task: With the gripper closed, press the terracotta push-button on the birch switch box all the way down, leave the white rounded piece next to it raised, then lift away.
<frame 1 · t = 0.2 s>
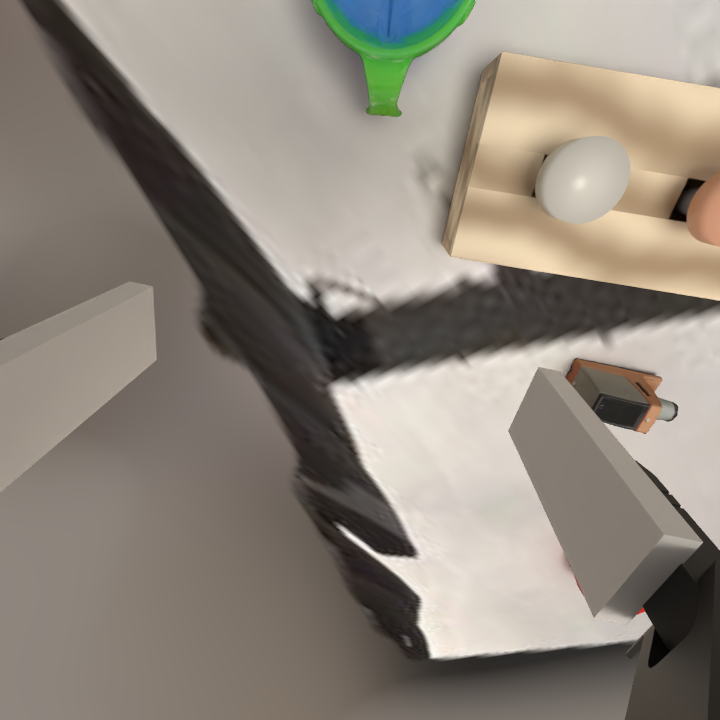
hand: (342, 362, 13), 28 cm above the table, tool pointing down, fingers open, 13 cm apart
snack cup: (393, 8, 30), on the table
electronic device: (605, 380, 44), on the table
switch box: (590, 186, 35), on the table
white rounded piece: (566, 180, 28), point 8 cm above the table, slide at 0.0 cm
terracotta button: (714, 204, 28), point 8 cm above the table, slide at 0.0 cm
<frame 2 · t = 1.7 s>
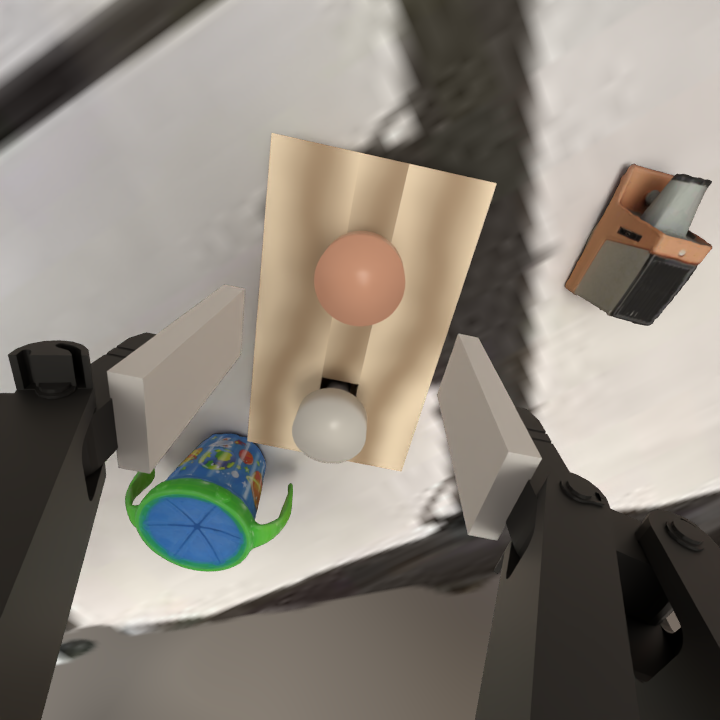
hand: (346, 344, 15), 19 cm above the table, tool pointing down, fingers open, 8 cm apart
snack cup: (234, 455, 43), on the table
electronic device: (615, 235, 30), on the table
switch box: (355, 308, 34), on the table
white rounded piece: (334, 408, 30), point 8 cm above the table, slide at 0.0 cm
terracotta button: (362, 269, 25), point 8 cm above the table, slide at 0.0 cm
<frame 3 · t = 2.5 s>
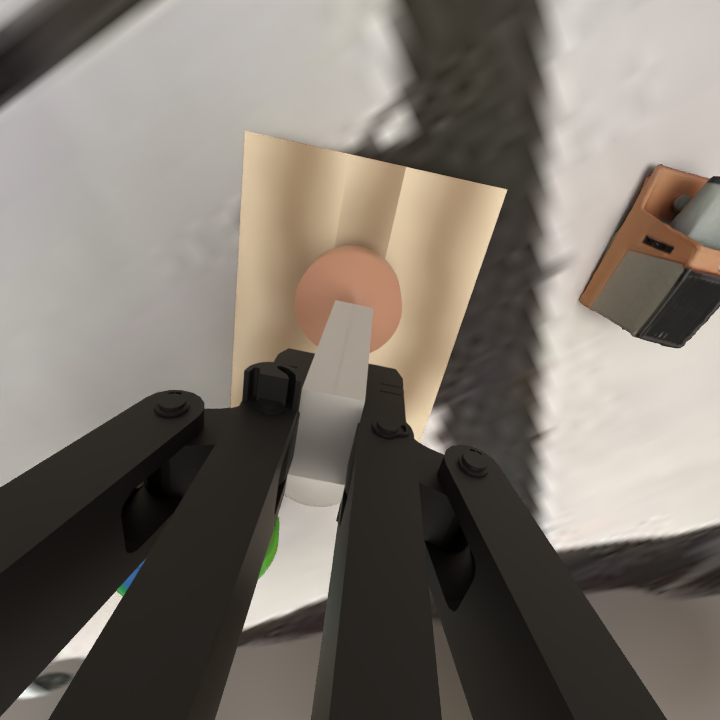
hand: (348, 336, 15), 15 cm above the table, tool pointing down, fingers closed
snack cup: (216, 483, 40), on the table
electronic device: (636, 244, 27), on the table
switch box: (346, 327, 31), on the table
white rounded piece: (322, 442, 26), point 8 cm above the table, slide at 0.0 cm
terracotta button: (352, 289, 21), point 8 cm above the table, slide at 0.0 cm
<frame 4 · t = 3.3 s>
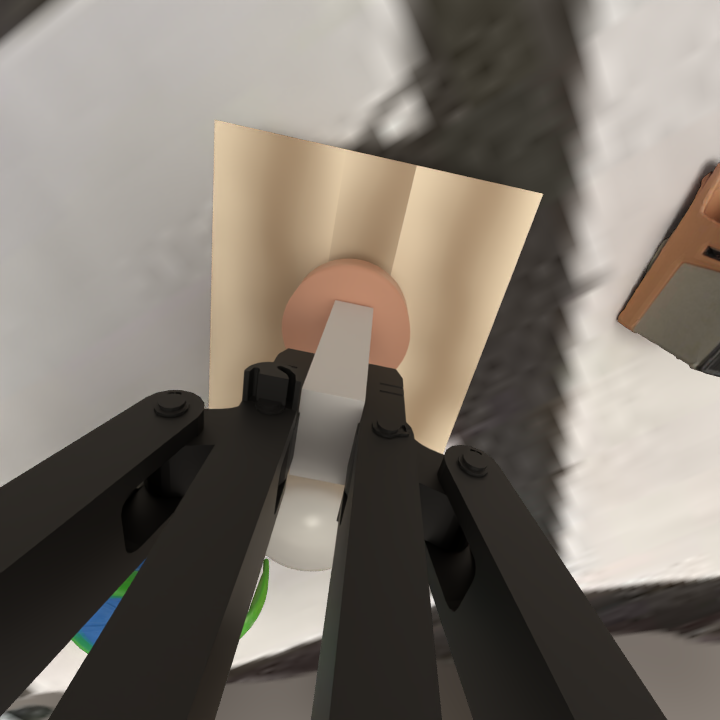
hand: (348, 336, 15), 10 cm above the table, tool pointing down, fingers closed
snack cup: (200, 517, 36), on the table
electronic device: (687, 254, 23), on the table
switch box: (344, 349, 27), on the table
white rounded piece: (315, 490, 22), point 8 cm above the table, slide at 0.0 cm
terracotta button: (351, 307, 18), point 7 cm above the table, slide at 1.1 cm, touching gripper
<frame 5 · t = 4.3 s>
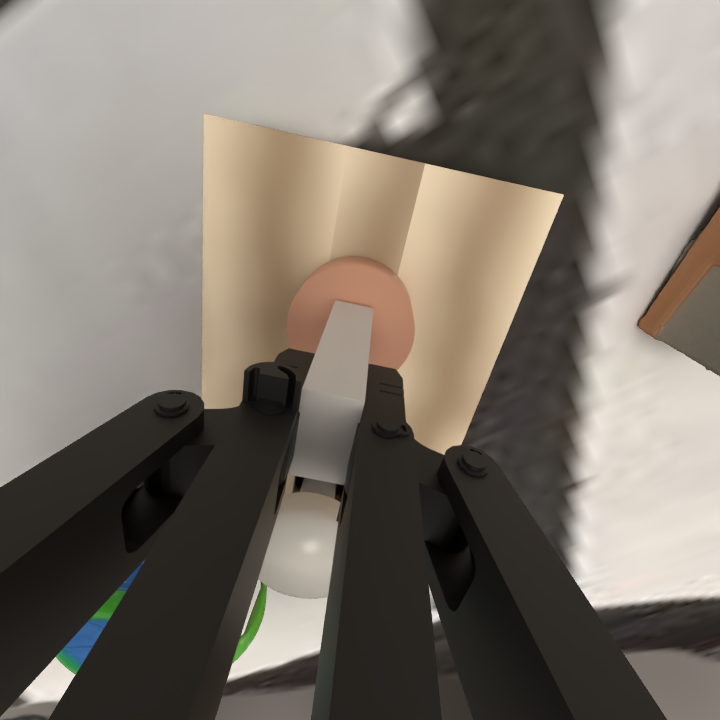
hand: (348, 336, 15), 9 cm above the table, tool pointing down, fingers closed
snack cup: (196, 528, 34), on the table
electronic device: (714, 256, 21), on the table
switch box: (345, 358, 25), on the table
white rounded piece: (314, 509, 21), point 8 cm above the table, slide at 0.0 cm
terracotta button: (356, 305, 18), point 5 cm above the table, slide at 2.8 cm
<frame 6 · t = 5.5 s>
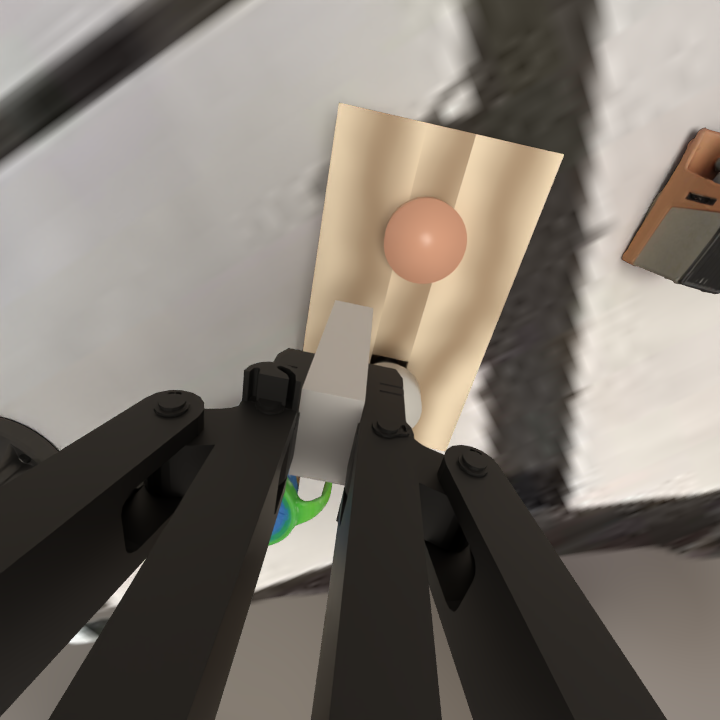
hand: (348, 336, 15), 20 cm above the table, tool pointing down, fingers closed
snack cup: (271, 436, 43), on the table
electronic device: (677, 205, 30), on the table
switch box: (401, 288, 34), on the table
white rounded piece: (385, 384, 30), point 8 cm above the table, slide at 0.0 cm
terracotta button: (421, 234, 27), point 5 cm above the table, slide at 2.8 cm
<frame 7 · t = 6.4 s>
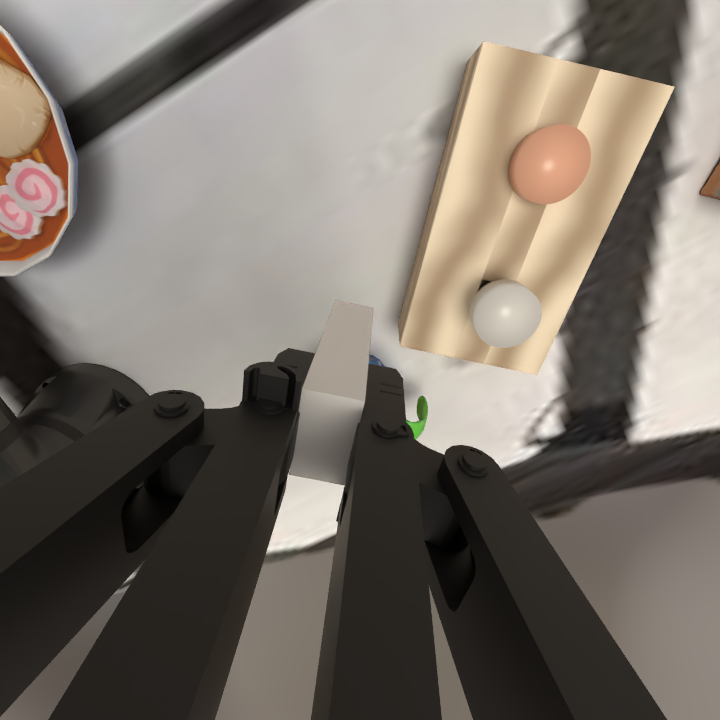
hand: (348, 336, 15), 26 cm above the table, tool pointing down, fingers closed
snack cup: (358, 377, 47), on the table
switch box: (497, 227, 38), on the table
white rounded piece: (497, 304, 33), point 8 cm above the table, slide at 0.0 cm
ramen bowl: (10, 141, 37), on the table
terracotta button: (537, 165, 31), point 5 cm above the table, slide at 2.8 cm
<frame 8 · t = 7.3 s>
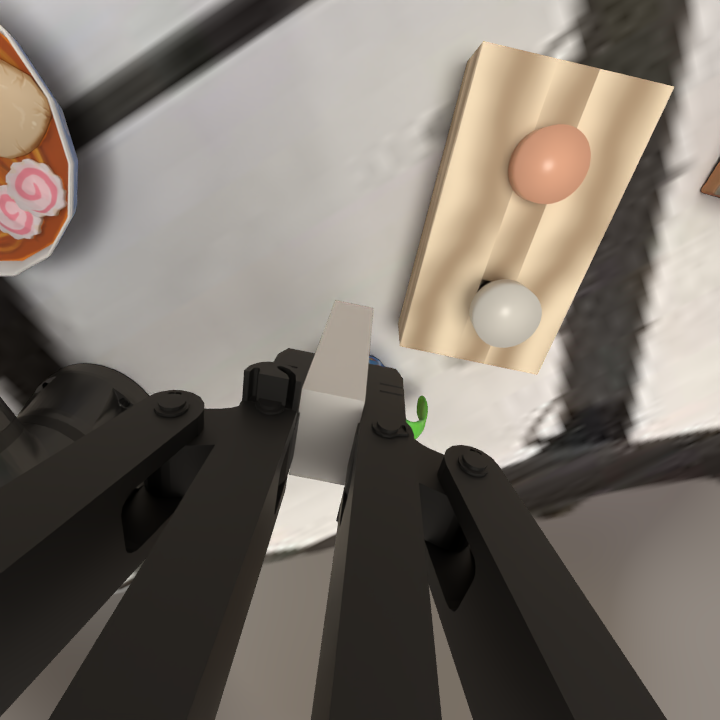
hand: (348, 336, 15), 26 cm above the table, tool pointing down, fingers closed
snack cup: (358, 377, 47), on the table
switch box: (496, 227, 38), on the table
white rounded piece: (497, 304, 33), point 8 cm above the table, slide at 0.0 cm
ramen bowl: (10, 141, 37), on the table
terracotta button: (537, 165, 31), point 5 cm above the table, slide at 2.8 cm
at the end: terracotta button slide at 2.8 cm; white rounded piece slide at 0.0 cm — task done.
